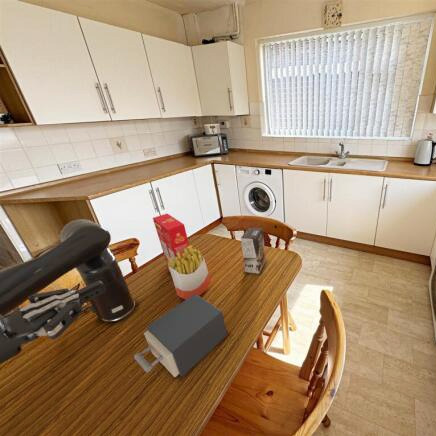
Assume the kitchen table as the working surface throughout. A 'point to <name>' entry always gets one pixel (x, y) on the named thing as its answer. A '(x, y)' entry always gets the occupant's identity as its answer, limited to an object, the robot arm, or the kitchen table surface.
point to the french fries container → (189, 273)
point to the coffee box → (253, 250)
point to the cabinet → (190, 331)
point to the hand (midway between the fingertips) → (103, 285)
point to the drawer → (157, 355)
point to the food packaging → (171, 236)
